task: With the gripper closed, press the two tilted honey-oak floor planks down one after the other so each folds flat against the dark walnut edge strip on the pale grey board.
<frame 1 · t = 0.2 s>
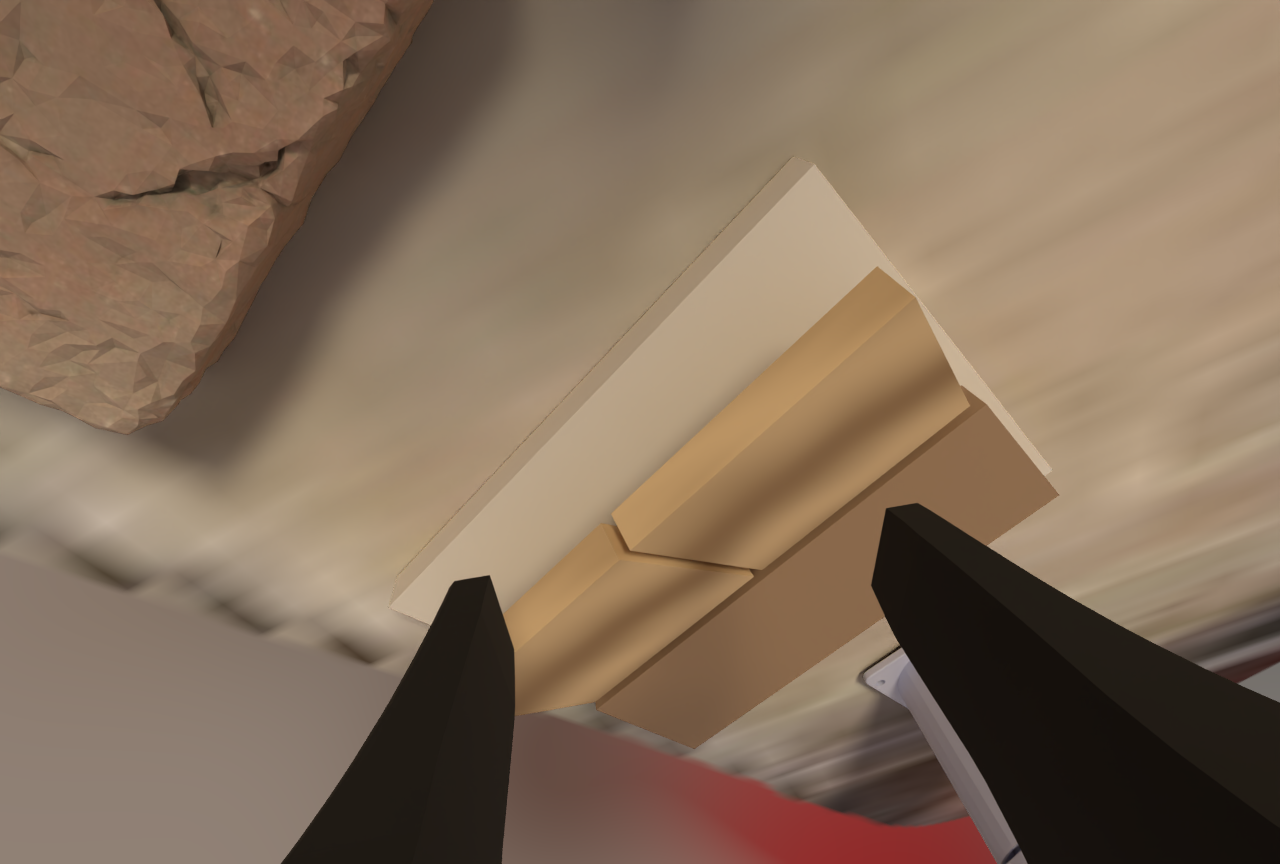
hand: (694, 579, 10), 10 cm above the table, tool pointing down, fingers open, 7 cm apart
floor board: (719, 510, 23), on the table
plank a: (805, 455, 17), point 4 cm above the table, hinge at 25.0°
brick: (188, 25, 13), on the table
plank b: (597, 631, 20), point 4 cm above the table, hinge at 25.0°
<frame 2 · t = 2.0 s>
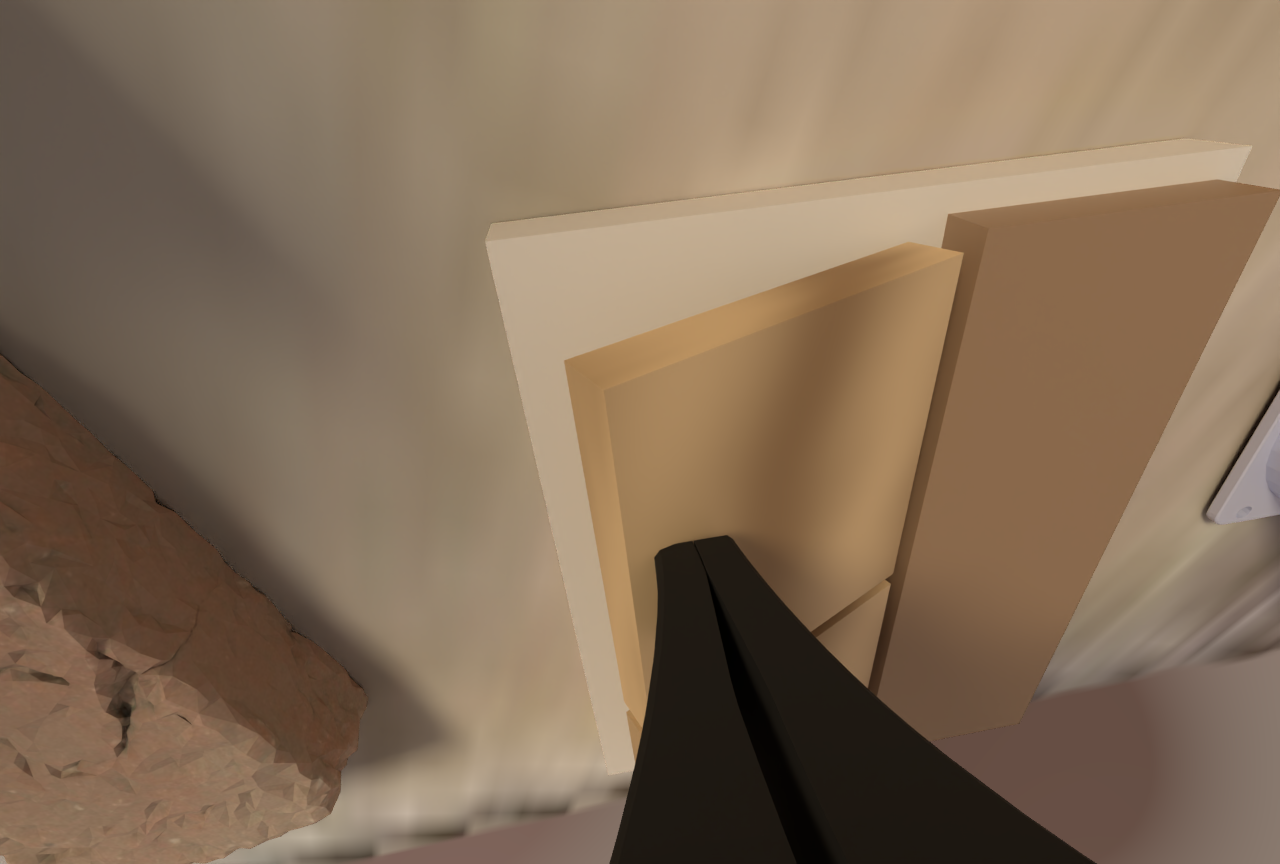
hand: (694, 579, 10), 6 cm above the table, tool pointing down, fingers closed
floor board: (816, 518, 18), on the table
plank a: (777, 498, 12), point 4 cm above the table, hinge at 24.8°, touching gripper
brick: (94, 573, 16), on the table
plank b: (764, 735, 17), point 4 cm above the table, hinge at 25.0°
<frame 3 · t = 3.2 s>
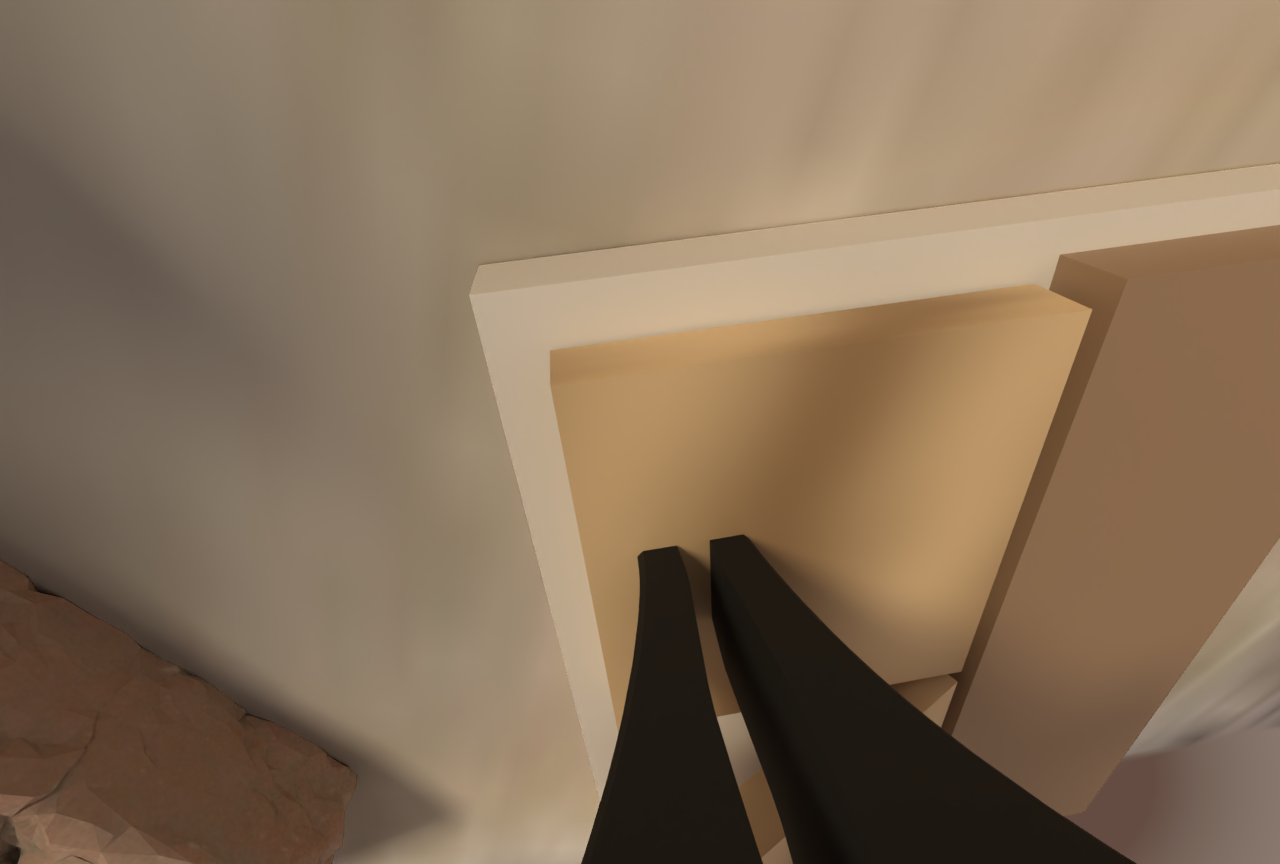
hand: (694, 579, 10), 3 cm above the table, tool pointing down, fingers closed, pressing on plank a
floor board: (862, 591, 16), on the table
plank a: (796, 542, 11), point 2 cm above the table, hinge at -0.2°, touching gripper
brick: (3, 673, 14), on the table
plank b: (803, 852, 15), point 4 cm above the table, hinge at 25.0°
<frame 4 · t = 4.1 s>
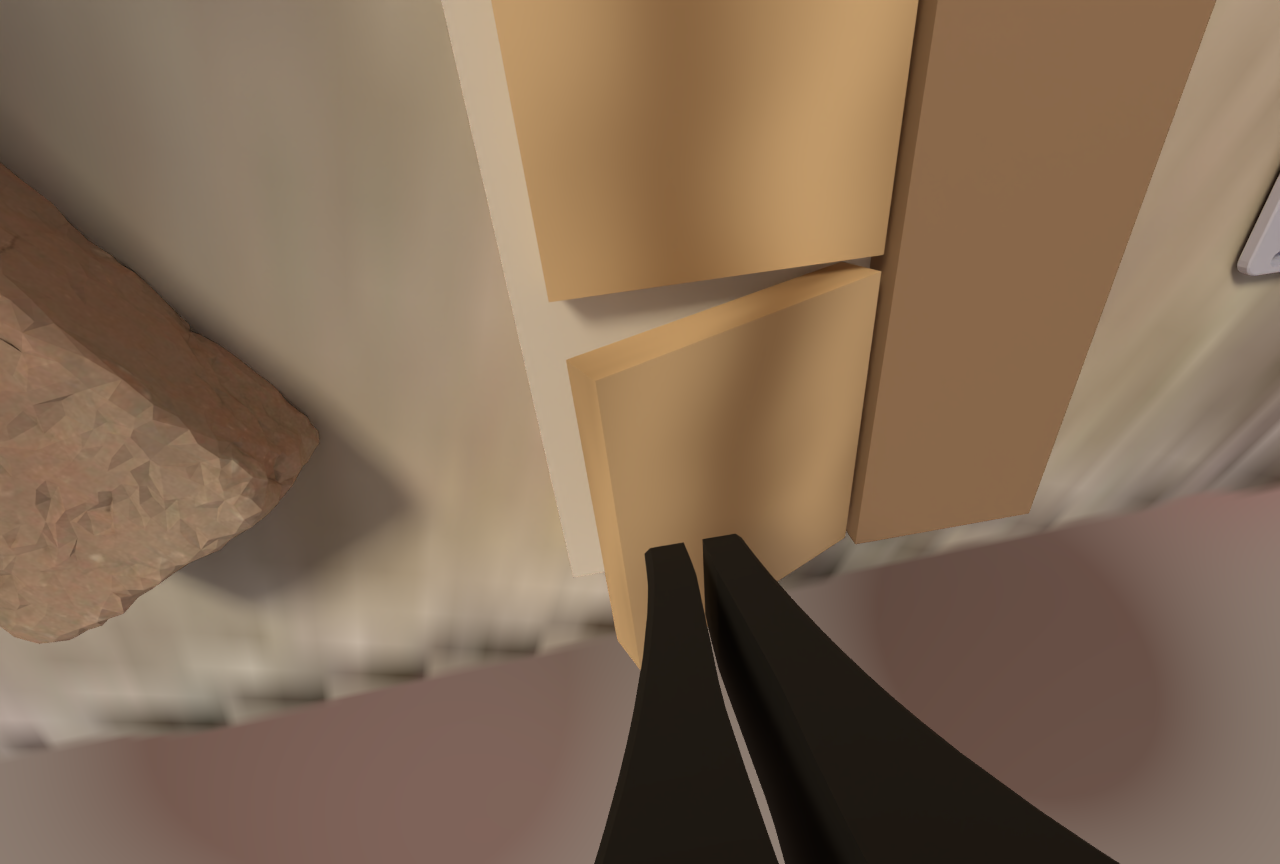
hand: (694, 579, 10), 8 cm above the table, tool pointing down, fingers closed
floor board: (798, 239, 16), on the table
plank a: (707, 53, 11), point 2 cm above the table, hinge at -0.2°
plank b: (739, 470, 15), point 4 cm above the table, hinge at 25.0°
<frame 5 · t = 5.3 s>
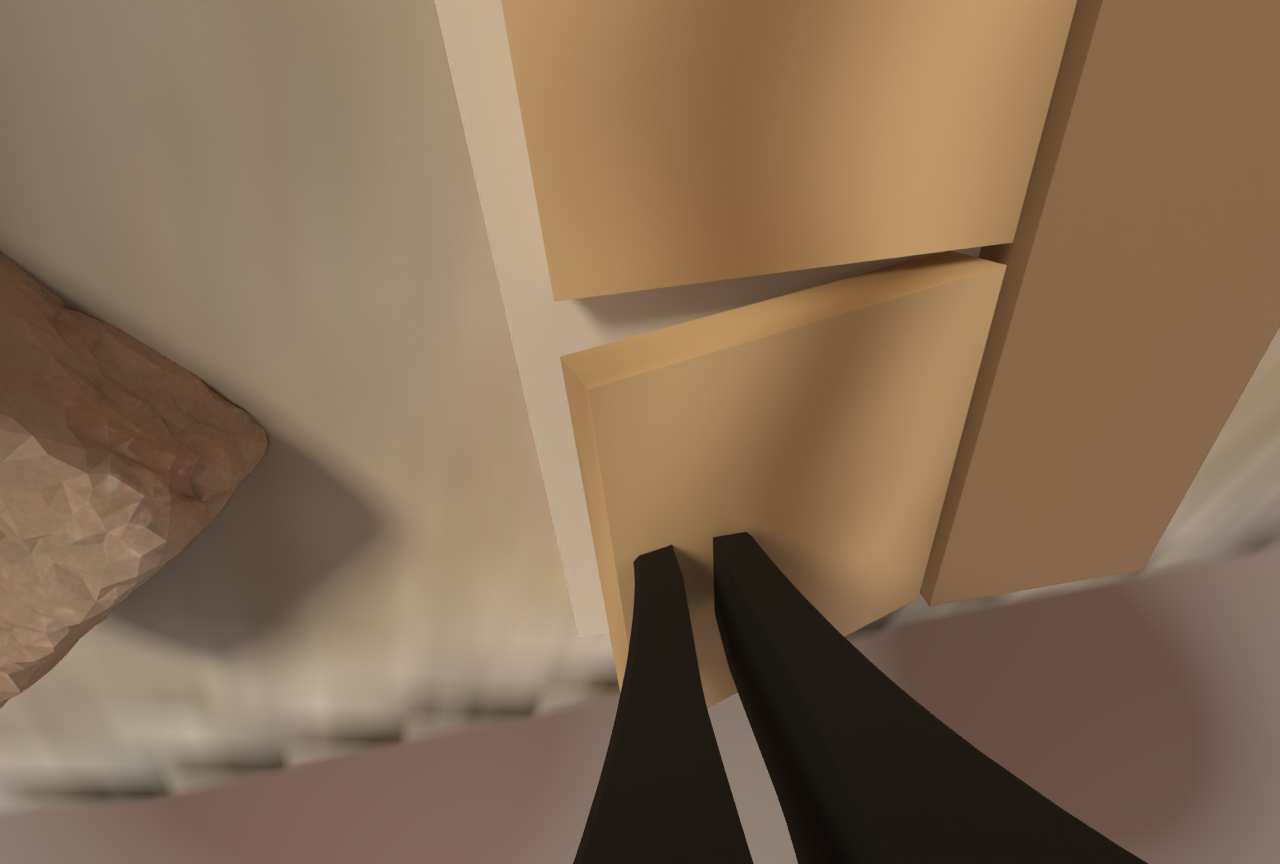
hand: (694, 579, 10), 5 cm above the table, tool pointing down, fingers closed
floor board: (878, 223, 12), on the table
plank b: (787, 510, 12), point 3 cm above the table, hinge at 17.4°, touching gripper
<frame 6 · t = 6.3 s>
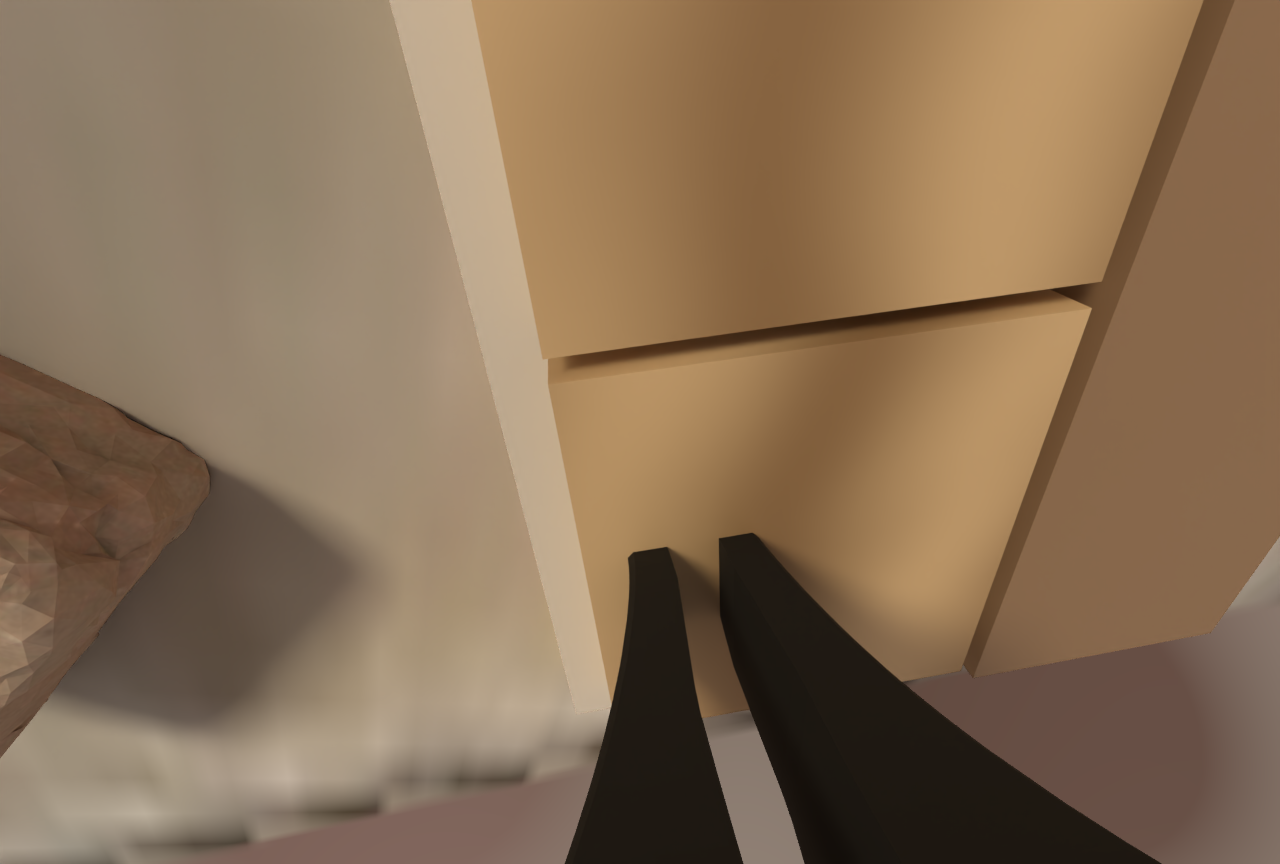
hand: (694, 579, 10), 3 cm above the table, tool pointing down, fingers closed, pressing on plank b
floor board: (923, 251, 11), on the table
plank b: (794, 541, 11), point 2 cm above the table, hinge at -0.4°, touching gripper
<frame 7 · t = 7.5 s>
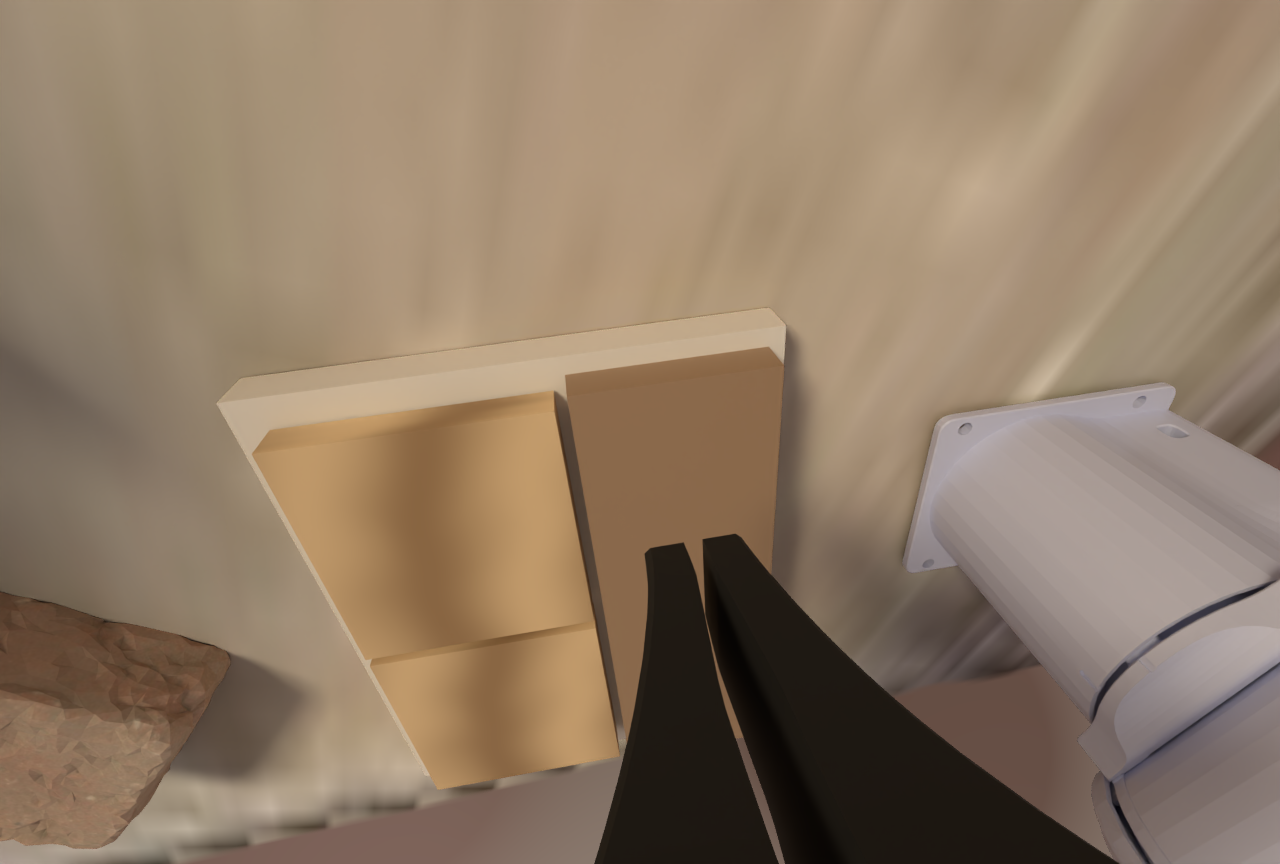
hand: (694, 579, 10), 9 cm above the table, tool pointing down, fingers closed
floor board: (564, 572, 23), on the table
plank a: (451, 537, 18), point 2 cm above the table, hinge at -0.2°
plank b: (510, 702, 23), point 2 cm above the table, hinge at -0.4°
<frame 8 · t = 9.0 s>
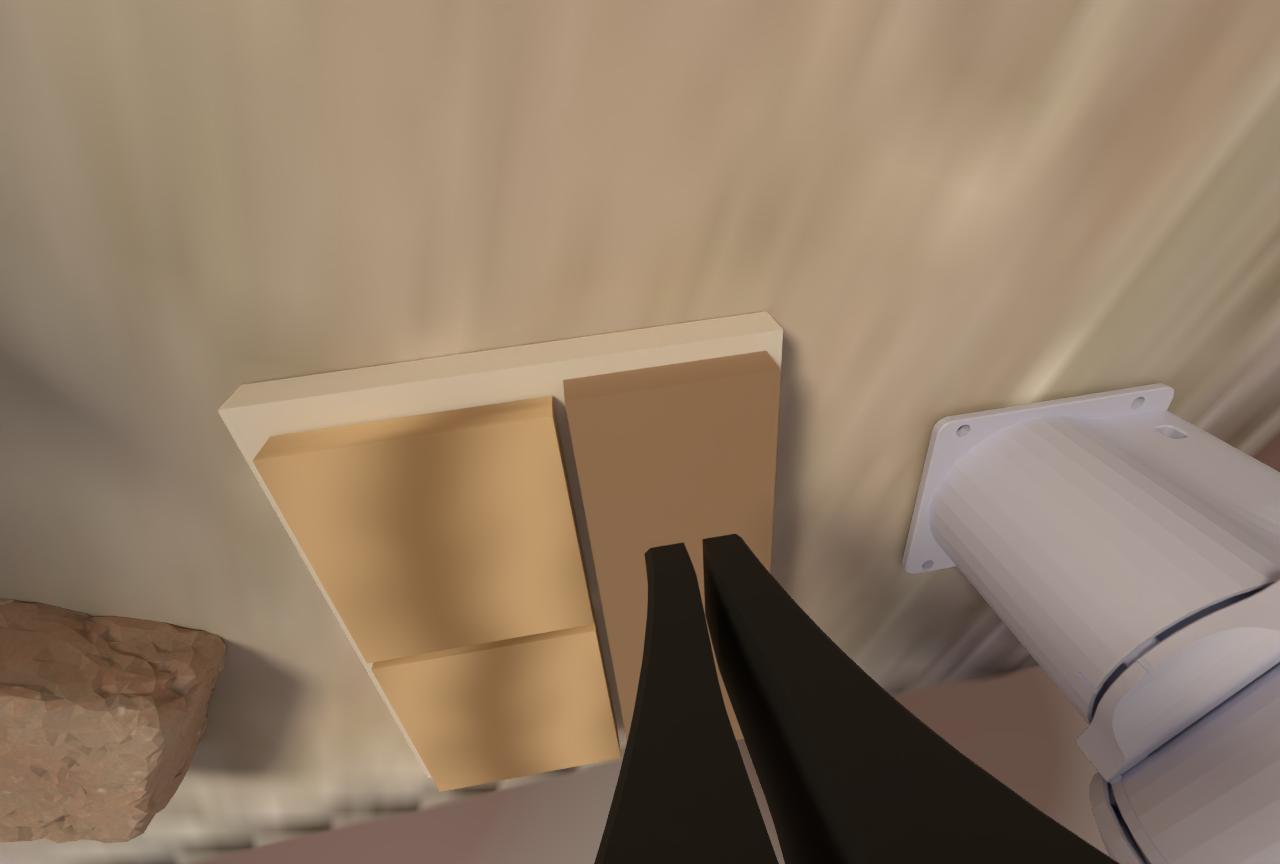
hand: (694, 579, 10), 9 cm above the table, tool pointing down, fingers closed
floor board: (564, 574, 23), on the table
plank a: (451, 541, 18), point 2 cm above the table, hinge at -0.2°
plank b: (511, 704, 23), point 2 cm above the table, hinge at -0.4°
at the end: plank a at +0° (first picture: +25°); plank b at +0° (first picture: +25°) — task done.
